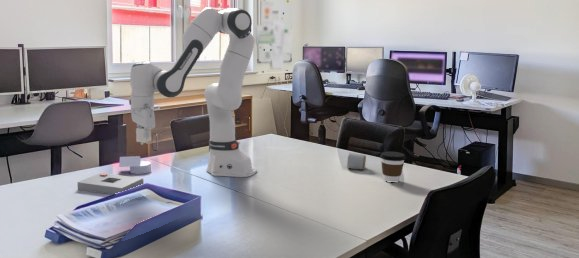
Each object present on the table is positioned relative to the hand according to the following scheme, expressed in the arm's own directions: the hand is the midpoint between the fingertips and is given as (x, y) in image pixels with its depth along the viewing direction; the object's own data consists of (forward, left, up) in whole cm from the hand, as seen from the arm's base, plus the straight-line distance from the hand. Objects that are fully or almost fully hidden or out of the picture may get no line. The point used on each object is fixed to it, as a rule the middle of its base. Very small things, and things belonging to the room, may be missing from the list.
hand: (143, 136), depth 202 cm
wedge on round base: (+12, -11, -19) cm, 25 cm away
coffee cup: (-97, -38, -19) cm, 106 cm away
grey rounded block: (-79, -54, -19) cm, 97 cm away
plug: (0, 0, -3) cm, 3 cm away
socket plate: (+7, +13, -19) cm, 24 cm away
